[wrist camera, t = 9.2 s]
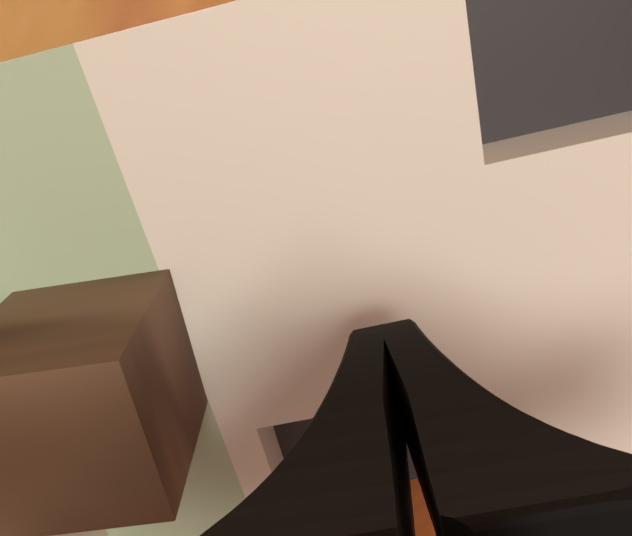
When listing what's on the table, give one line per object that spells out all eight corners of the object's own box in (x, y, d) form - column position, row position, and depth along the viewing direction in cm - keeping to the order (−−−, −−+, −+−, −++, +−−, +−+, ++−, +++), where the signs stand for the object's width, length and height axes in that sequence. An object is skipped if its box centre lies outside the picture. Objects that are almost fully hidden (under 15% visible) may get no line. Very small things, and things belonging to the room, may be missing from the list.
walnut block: (207, 401, 16) (175, 520, 12) (66, 419, 16) (-8, 542, 12) (169, 268, 14) (118, 361, 11) (12, 291, 14) (-91, 389, 11)
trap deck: (894, 387, 18) (1040, 484, 14) (117, 524, 20) (74, 637, 17) (1019, -201, 12) (1328, -291, 8) (-105, 92, 14) (-248, 123, 11)
